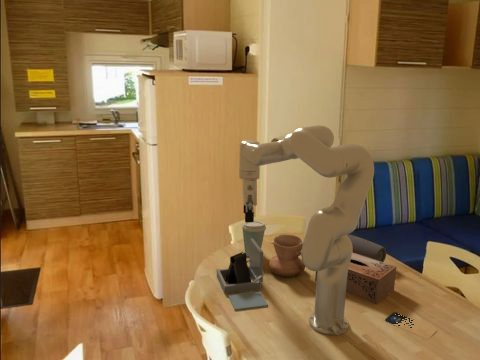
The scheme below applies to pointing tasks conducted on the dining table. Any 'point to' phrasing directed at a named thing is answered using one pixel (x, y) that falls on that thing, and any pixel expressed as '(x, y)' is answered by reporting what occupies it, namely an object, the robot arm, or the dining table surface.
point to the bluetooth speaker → (367, 248)
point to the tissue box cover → (369, 278)
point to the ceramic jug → (287, 256)
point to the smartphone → (397, 319)
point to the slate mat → (247, 300)
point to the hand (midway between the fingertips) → (248, 217)
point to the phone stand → (238, 270)
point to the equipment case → (254, 272)
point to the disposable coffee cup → (253, 234)
